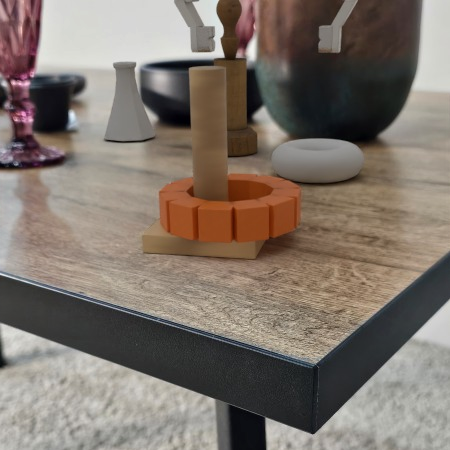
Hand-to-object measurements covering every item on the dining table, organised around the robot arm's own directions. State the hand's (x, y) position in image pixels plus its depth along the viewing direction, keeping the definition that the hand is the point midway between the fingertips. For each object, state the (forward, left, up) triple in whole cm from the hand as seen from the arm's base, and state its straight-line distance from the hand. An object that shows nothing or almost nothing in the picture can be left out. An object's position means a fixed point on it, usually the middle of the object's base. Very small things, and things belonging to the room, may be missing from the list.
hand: (265, 52), depth 55 cm
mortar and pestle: (-10, +34, -15) cm, 39 cm away
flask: (-26, +41, -15) cm, 51 cm away
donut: (+2, +23, -15) cm, 27 cm away
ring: (-3, 0, -13) cm, 13 cm away
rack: (-4, 0, -15) cm, 15 cm away
